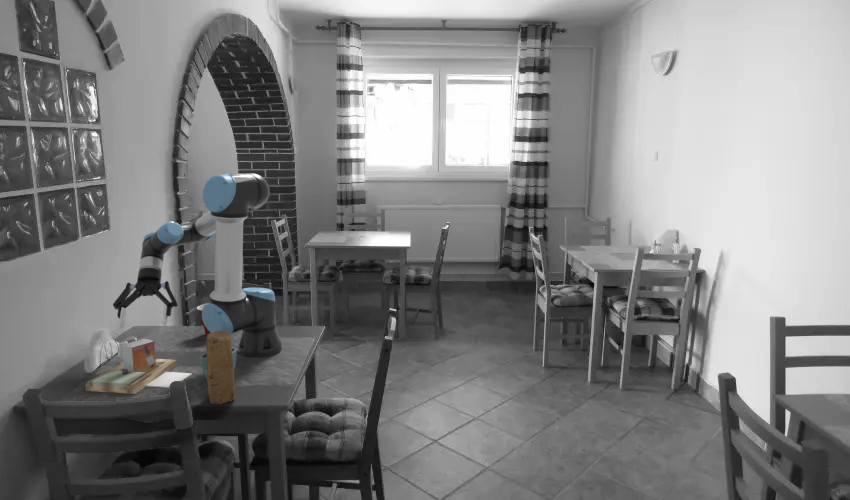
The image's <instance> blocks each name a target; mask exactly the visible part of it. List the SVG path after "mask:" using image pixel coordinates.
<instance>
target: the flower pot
mask: <svg viewBox="0 0 850 500" xmlns="http://www.w3.org/2000/svg"><path fill="white" fill-rule="evenodd" d="M232 354H233V365H234V369H235V368H236V364H237V354H238V349H237V348H232ZM199 359H200V364H201V370H202V373H203V374H204V377H205V378H206V379H207V355H206V352H204V353H203V354H202V355H200V357H199Z"/></svg>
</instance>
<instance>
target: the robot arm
mask: <svg viewBox="0 0 850 500" xmlns="http://www.w3.org/2000/svg"><path fill="white" fill-rule="evenodd" d="M270 193H271V192H270V185H269V184H268V182H267V180H266V179H265V178H264V177H263V176H261V175H259V174H257V173H254V172H246V173H244V172H243V173H242V172H241V173H221V174H216V175H213V176H211V177H210V178H209V179H208V180H206V182H205V184H204V186H203V189H202V201H203V203H204V206H205V208H206V210H208V211H207V212H206V213H204V214H203V215H202V216H200V217H199V218H198V219H196V220H194V221H193V222H189V223H183V224H182V223H181V224H179V223H178V222H175V221H172V220H170V221H166V222H165V223H164V224H162V225H161V226H160V227H158V229H157V230H156V231H155V232H150V233H147V234H145V235H144V237H143V241H142V243H141V244H142V245H141V246H142V247H141V253H140V261H139V268H138V273H137V279H136V280H137V281H136V283H135V284H134V283H131V282H127V283H126V286H125V288H124V289H123V290H122V292H121V293H120V294H119V295H118V297H117V298H116V299H115V301H114V302H113V303H112V306H113V308H114V310H117V314H116V315H117V318H118V319H119V321H118V326H119V327H120V329H124V326H125V321H126V314H127V310H126V309H127V308H128V307H129V306H130V305H132V304H133V303H134V302H135V301H136V300H137V299H139V298H140V297H141V296H142V297H147V296H149V297H150V296H151V297H153V296H156V297H157V298H158V299H159V300H161V301H160V302H162V303H163V304H164V306H163V307H164V308H163V317H162V324H163V326H164V327H165V326H168V325H167V324H168V317H171V315H172V309H173V308H174V307H175V308H176V307H178V302H177V300H176V298H175V296H174V294H173V292H172V290H171V285H170V282H169V281H167V280H166V281H165V282H164V283H163V282H162V272H163V265H164V258H165V254H166V253H167V252H169V250H171V248H173V247H178V246H183V245H190V244H196V243H204V242H207V241H211V240H212V239H213V237H214V236H215V237H214V238H215V240H214V242H215V244H214V246H215V247H214V251H215V252H214V257H215V258H214V290H213V291H212V292H211V293H210V294H209V302H208V303H209V304H207V303H205V304H206V305H205V306H204V308H203V309H202V319H203V322H204V325H205V326H206V327H207V329H208V330H209V331H210V332H216V331H228V332H230V335H233V334H234V333H237V332H240V331H242V333H241V336H240V340H239V344H238V354H239V355H240V356H242V357H246V358H265V357H269V356H270V357H271V356H274V355H276V354H279V353H280V352H281V351H282V350H283V346H282V340H281V338H280V335H279V334H278V329H277V317H276V314H277V313H276V297H275V292H274V291H273V290H272V289H270V288H265V287H246V288H244V287H243V246H244V244H243V243H244V221H245V220H246V219H247V218H249V212H254V211H256V210H258V209H259V208H261V207H262V206H264V205H265V204H266V203H267V202H268V200H269V198H270ZM242 287H243V288H242ZM162 288H163V290H166V291H165V292H166V293H167V295H168V297H169V299H170V300H171V301H169V300H168V299H167V298H166V297H165V296H164V294H162V292H161V291H160V290H161V289H162ZM134 289H135V290H134ZM132 291H133V292H132ZM131 292H132V293H131ZM202 319H201V320H202Z"/></svg>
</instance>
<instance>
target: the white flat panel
mask: <svg viewBox="0 0 850 500" xmlns="http://www.w3.org/2000/svg"><path fill="white" fill-rule="evenodd" d="M192 374H193V373H191V372H189V373H187V372H178V371H177V372H174V371H168V372H165V373H163V374H162V375H160V376H159V377H158V378H156V379H155V380H153V381H152V382H150V383H149V384H147V385H146V387H148V388H149V387H150V388H160V389H161V388H163V389H164V388H165V389H170V388H169V386H170V384H171V383H172V382H174V381H183V380H184V379H185V380H187V379H188V378H189V377H191V376H192ZM185 380H184V381H185ZM184 381H183V382H184ZM146 387H145V388H146Z"/></svg>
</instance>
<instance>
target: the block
mask: <svg viewBox="0 0 850 500" xmlns="http://www.w3.org/2000/svg"><path fill="white" fill-rule="evenodd" d="M231 335H232V334H230V332H228V331H216V332H211V333H209V334H208V335H207V336H206V342H205V343H206V344H205V345H206V350H205V353H206V355H207V378H206V381H207V393H208V400H209V403H210V404H212V405H221V404H220V403H225V402H228V401H230V402H232V401H231V400H233V401H234V400H235V399H236V384H235V368H234V365H233V354H232V349H233V346H232V345H233V344H232V336H231ZM228 403H229V402H228ZM225 404H226V403H225Z"/></svg>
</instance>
